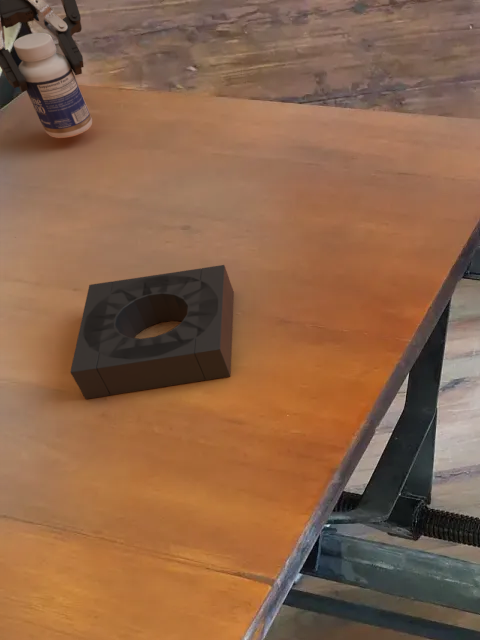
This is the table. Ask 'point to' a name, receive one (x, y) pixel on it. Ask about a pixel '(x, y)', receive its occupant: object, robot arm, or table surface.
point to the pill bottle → (52, 86)
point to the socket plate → (163, 350)
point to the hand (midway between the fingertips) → (51, 78)
